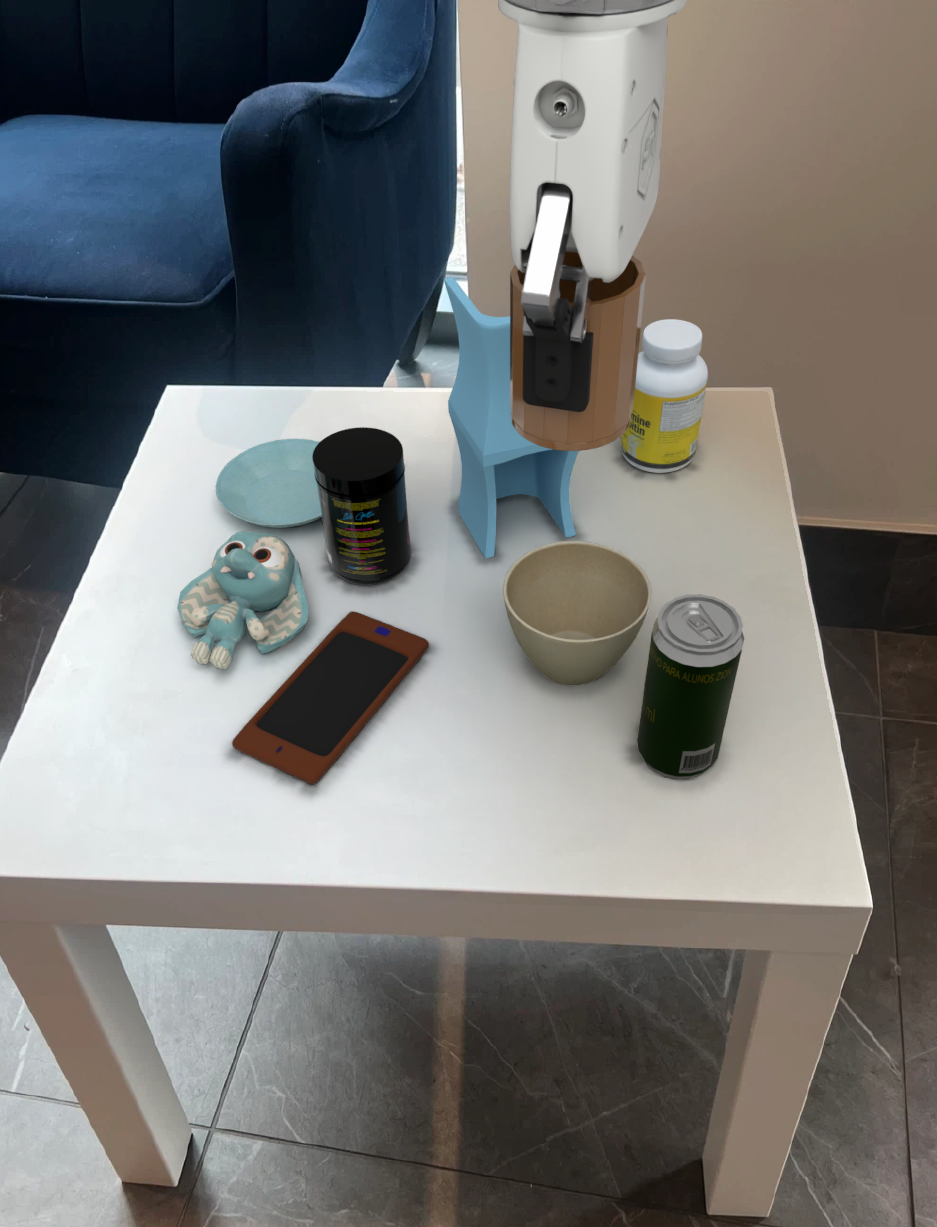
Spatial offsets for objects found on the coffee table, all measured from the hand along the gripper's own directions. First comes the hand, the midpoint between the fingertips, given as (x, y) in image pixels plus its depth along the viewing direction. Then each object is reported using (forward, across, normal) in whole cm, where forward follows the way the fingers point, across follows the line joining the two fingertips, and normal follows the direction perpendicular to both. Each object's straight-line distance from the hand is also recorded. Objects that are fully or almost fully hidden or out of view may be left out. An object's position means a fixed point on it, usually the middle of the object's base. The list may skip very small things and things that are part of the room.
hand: (573, 364), depth 56 cm
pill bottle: (+28, +32, 0) cm, 43 cm away
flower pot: (+28, +6, 0) cm, 28 cm away
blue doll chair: (+28, +20, +9) cm, 36 cm away
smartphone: (+28, -2, +16) cm, 32 cm away
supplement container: (+28, +12, +19) cm, 36 cm away
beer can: (+28, 0, -8) cm, 29 cm away
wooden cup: (+3, 0, 0) cm, 3 cm away
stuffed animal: (+28, +3, +25) cm, 37 cm away
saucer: (+28, +18, +28) cm, 43 cm away
